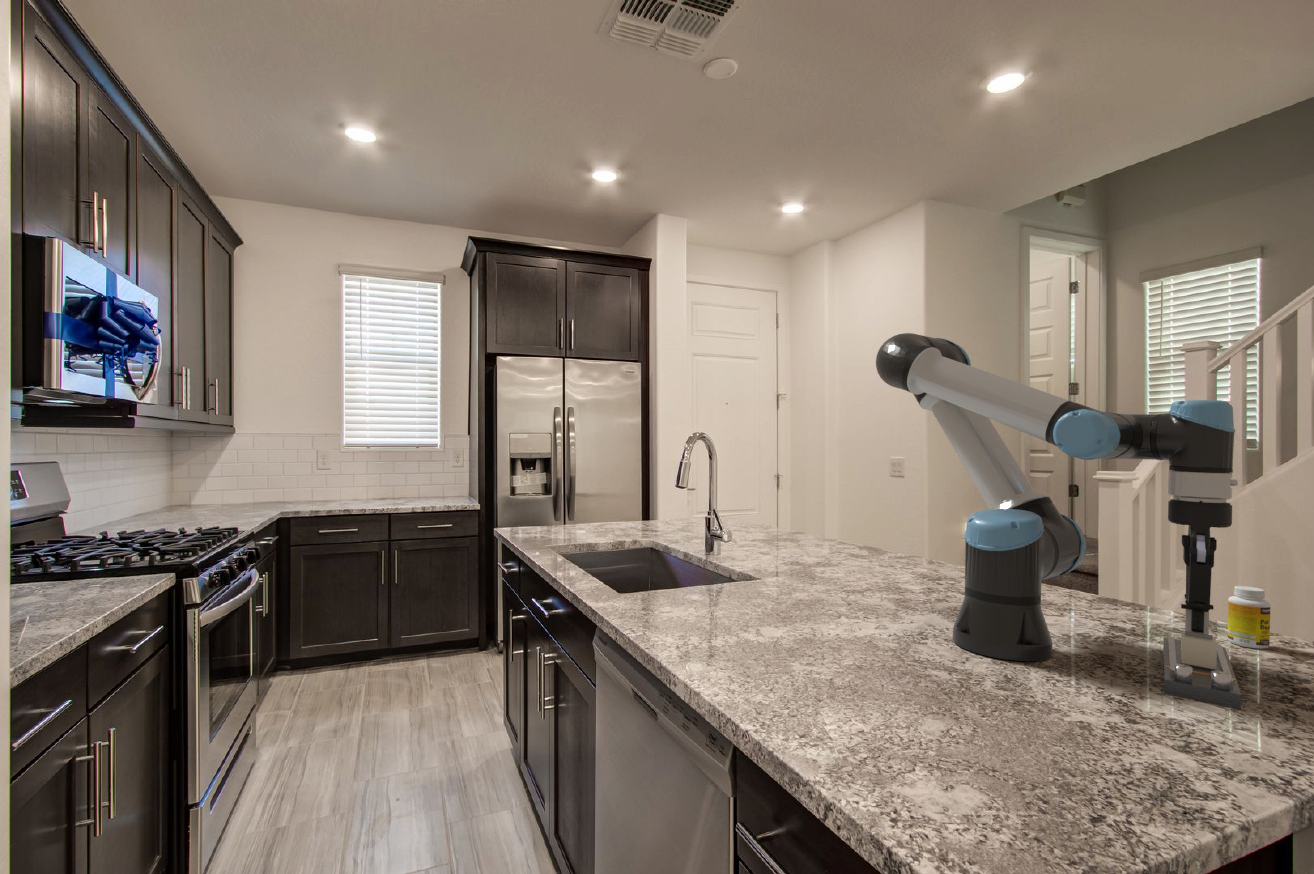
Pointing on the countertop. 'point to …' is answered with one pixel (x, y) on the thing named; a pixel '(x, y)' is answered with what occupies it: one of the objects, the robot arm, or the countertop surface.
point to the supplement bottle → (1249, 618)
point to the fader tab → (1198, 649)
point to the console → (1200, 677)
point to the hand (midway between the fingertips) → (1196, 651)
